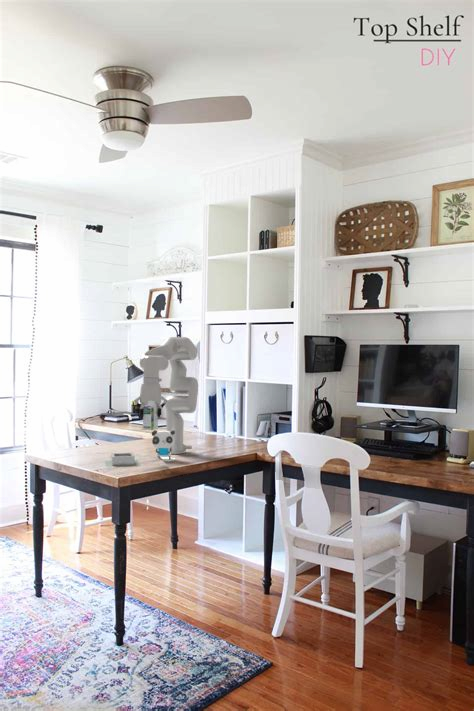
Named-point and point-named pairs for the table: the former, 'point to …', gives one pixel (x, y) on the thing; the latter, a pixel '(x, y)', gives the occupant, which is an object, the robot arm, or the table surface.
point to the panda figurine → (163, 444)
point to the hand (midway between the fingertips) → (150, 416)
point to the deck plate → (108, 463)
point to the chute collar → (122, 458)
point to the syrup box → (150, 416)
